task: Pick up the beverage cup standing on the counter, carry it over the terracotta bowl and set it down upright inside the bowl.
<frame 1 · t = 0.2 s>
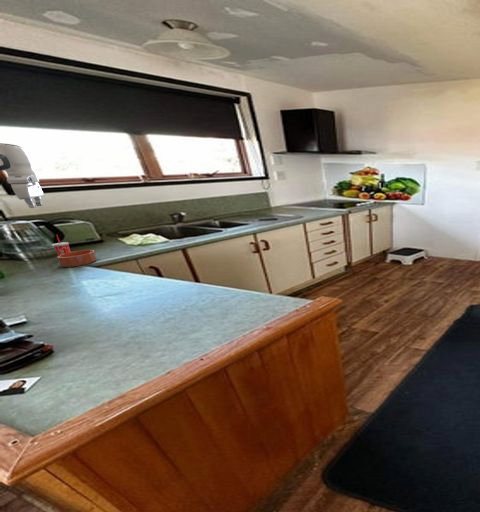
hand: (36, 206, 139), 30 cm above the counter, tool pointing down, fingers open, 8 cm apart
bowl: (79, 263, 145), on the counter
beverage cup: (66, 259, 153), on the counter
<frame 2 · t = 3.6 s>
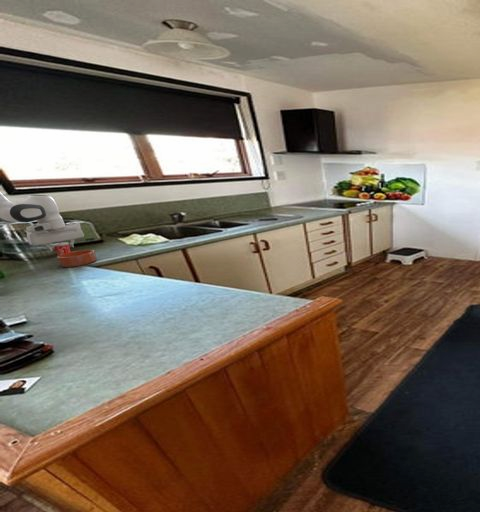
hand: (62, 249, 151), 6 cm above the counter, tool pointing down, fingers closed on beverage cup, 6 cm apart
beverage cup: (66, 259, 153), on the counter, touching gripper
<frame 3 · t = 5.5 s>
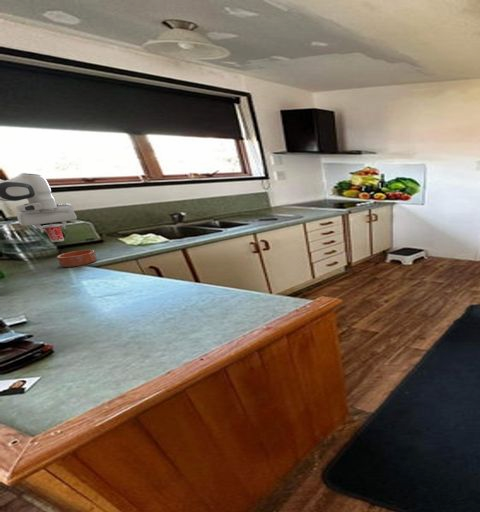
hand: (54, 230, 147), 16 cm above the counter, tool pointing down, fingers closed on beverage cup, 6 cm apart
beverage cup: (58, 241, 149), point 10 cm above the counter, touching gripper
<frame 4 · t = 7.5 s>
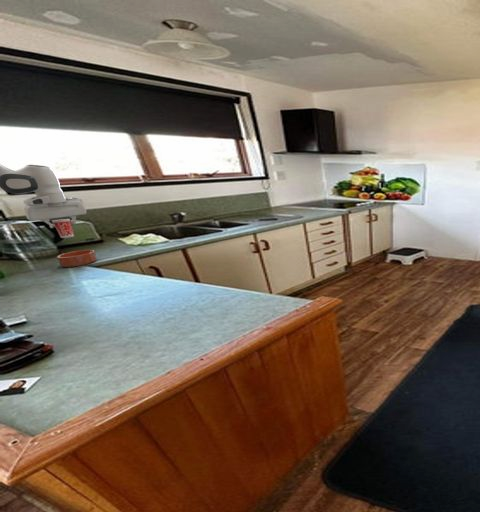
hand: (63, 226, 139), 20 cm above the counter, tool pointing down, fingers closed on beverage cup, 6 cm apart
beverage cup: (67, 237, 141), point 14 cm above the counter, touching gripper
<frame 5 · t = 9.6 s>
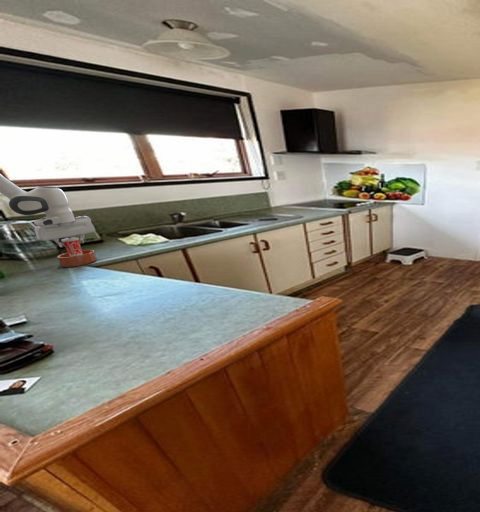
hand: (72, 244, 142), 10 cm above the counter, tool pointing down, fingers closed on beverage cup, 6 cm apart
beverage cup: (76, 255, 144), point 4 cm above the counter, touching gripper
when the fingers open (6 cm above the counter, at t = 11.2 s): beverage cup stays where it is, resting on bowl.
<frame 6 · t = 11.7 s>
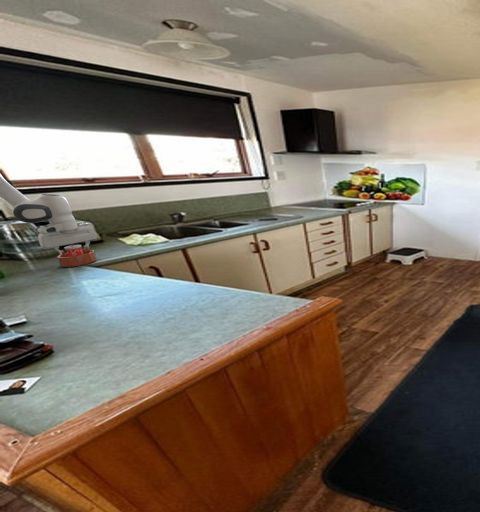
hand: (75, 251, 143), 7 cm above the counter, tool pointing down, fingers open, 8 cm apart
beverage cup: (79, 262, 145), resting on bowl
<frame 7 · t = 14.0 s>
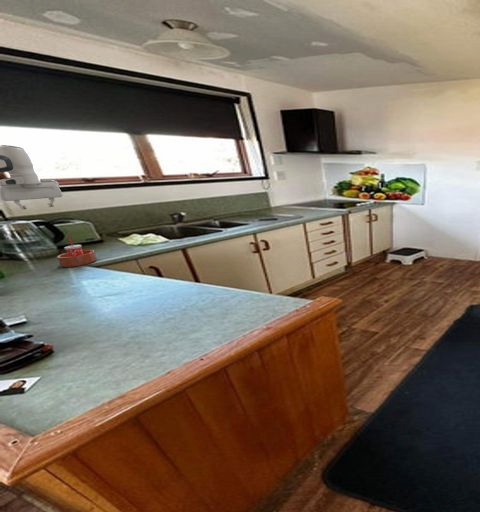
hand: (38, 208, 140), 29 cm above the counter, tool pointing down, fingers open, 8 cm apart
nothing on the counter moved.
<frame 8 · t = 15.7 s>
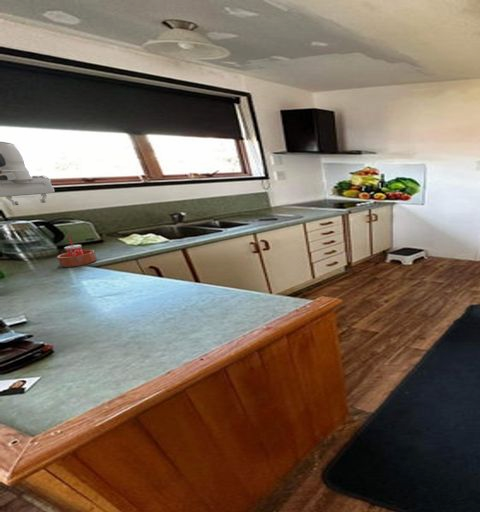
hand: (30, 203, 141), 31 cm above the counter, tool pointing down, fingers open, 8 cm apart
nothing on the counter moved.
at the end: beverage cup inside the target area in the bowl (0.0 cm from its centre), point 0.4 cm above the bowl's base; beverage cup tilted 0°; the gripper is holding nothing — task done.
